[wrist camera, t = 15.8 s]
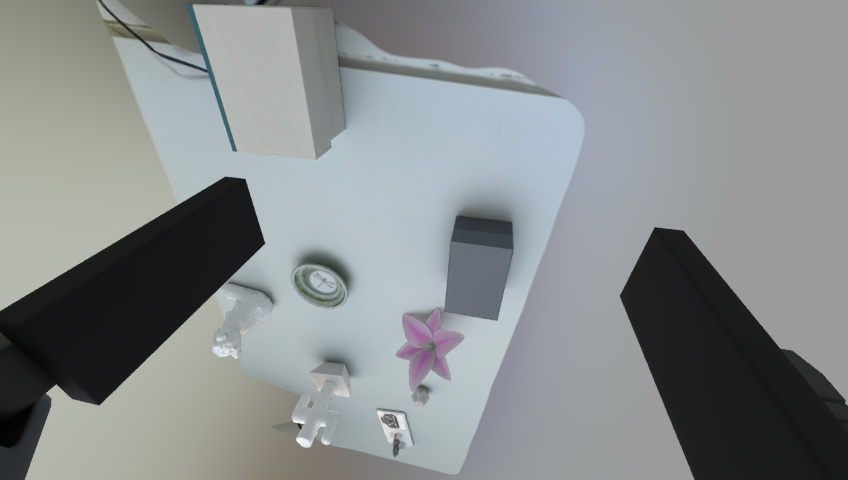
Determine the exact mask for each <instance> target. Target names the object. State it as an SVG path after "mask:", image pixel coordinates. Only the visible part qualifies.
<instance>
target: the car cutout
mask: <svg viewBox="0 0 848 480" xmlns="http://www.w3.org/2000/svg"><path fill="white" fill-rule="evenodd" d="M376 411H377V413H378V416H379V419H380V421H381V424H382V427H383V430H384V432H385V435H386V438H387V440H388V443H393V455H394V457H396V455H398V451H399V448H401V449H403V448H405V445H406V446H413V447H414V443H413V440H412V436H411V433H410V429H409V426H408V422H407V419H406V415H405V412H399V411H391V410H384V409H377V410H376Z"/></svg>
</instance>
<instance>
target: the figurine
mask: <svg viewBox="0 0 848 480" xmlns="http://www.w3.org/2000/svg"><path fill="white" fill-rule="evenodd" d="M309 374H310V376H311V378H312V379H313V381H314V383H315V385H316V387H317V389H318V391H319V394H318V397H317V399H316V401H315V403H314V405H313V406H312V407H311V408H307V405H308V403H309V401H310V395H309V394H308V393H303V394H302V395H301V397H300V399H299V401H298V403H297V405H296V407H295V409H294V411H293V414H292V419H293V421H294V422H296V423H302V424H304V425H303V427H302V429H301V430H300V432H299V434H298V436H297V438H296V440H297V442H298V443H299V444H301V446H302V447H306V448H309V447H311V445H312V443H313V440H314V439H315V436H316V435H317V434H318V432H317V430H318V429H319V427H321V426H323V427H325V430H324V433H323V435H322V438H321V440H322V443H323V444H325V445H328V444H330V442H331V440H332V438H333V435H334V433H335V430H336V428H337V425H338V422H339V413H338V412H336V411H330V410H327V408H328V406H329V403H330V401H331V399H332V397H333V395H337V396H345V397H351V388H350V376H349V374H348V371H347V369H346V367H345V364H341V363H330V362H325V363H323V364H322V365H320V366H318V367H317V368H315V369H314V370H312V371H311V372H309Z"/></svg>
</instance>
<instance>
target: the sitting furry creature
mask: <svg viewBox="0 0 848 480" xmlns="http://www.w3.org/2000/svg"><path fill="white" fill-rule="evenodd" d="M222 291H223V294H224V295H225V296H226V298H227V299H232V300H237V301H236V304H235V306H234V308H233V309H232V310H231V311H229V312H227V313H226V319H225V322H224V325H223V328H219V329H218V331H217V332H215V336H214V338H213V341H212V344H213V348H212V351H213V353H214V354H216V355H217V356H218V357H221V356H222V357H226V356H228V355H232V356H233V357H234V358H236V359H238V357H239V356H240V354H241V349H240V347H241V346H242V344H241V335H243V334H244V333H248V332H249V331H250V330H252V329H253V327H255V326H256V325H257V324H258V323H261V322H263V320H264V319H266V318H267V317H269V316H270V314H271V312H272V309H273V304H272V302H271V300H270V298H269V297H268V296H267V295H265V294H264V293H263V292H259V291H258V290H256V291H255V290H253V289H250V288H246V287H242V286H239V285H235V284H225V285H223V286H222Z"/></svg>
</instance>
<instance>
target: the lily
mask: <svg viewBox="0 0 848 480" xmlns="http://www.w3.org/2000/svg"><path fill="white" fill-rule="evenodd" d="M402 322H403V328H404V332H405V336H406V338H407V340H408V342H407V343H406V344H404V345H403V346H402V347H401V348H400V349H399V350H398V351H397V352H396V356H397V357H399V358H402V359H406V360H410V364H409V384H410V389H411V391H415V390H416V389H417V387H418V386H419V385H420V383H421V382H422V381H423V379H424V378H425V377H426V376H427V374H428V373H429V371H430V370H431V369H432V371H434V372H435V373H436V374H438V375H439V376H441V377H443V378H444V379H446V380H451V375H450V371H449V367H448V364H447V361H446V358H445V355H446V354H447V353H448V352H450V351H451V350H452V349H453V348H455V347H456V346H457V345H458V344H459V343H460V342H461V341H462V340H463V339H464V335H463V334H461V333H458V332H454V331H449V330H444V329H441V324H440V309H439V308H437V309H436V310H435V311H434V312H433V313H432V314H431V316H430V317H429V318H428V320H427V322H426V323H425V324H424V323H422V322H421V321H419V320H417V319H415V318H414V317H412V316H410V315H407V314H403V316H402Z"/></svg>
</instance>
